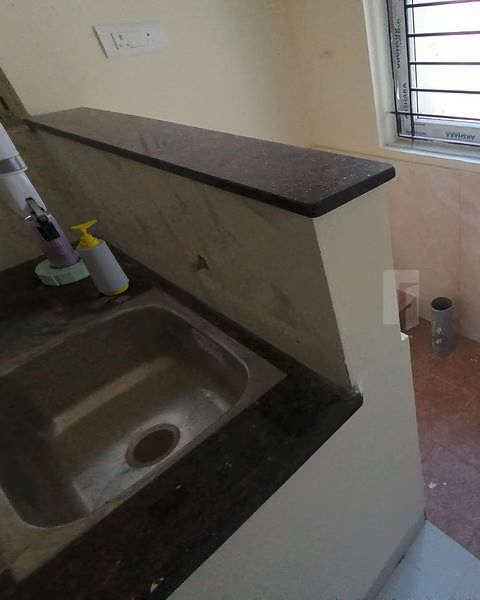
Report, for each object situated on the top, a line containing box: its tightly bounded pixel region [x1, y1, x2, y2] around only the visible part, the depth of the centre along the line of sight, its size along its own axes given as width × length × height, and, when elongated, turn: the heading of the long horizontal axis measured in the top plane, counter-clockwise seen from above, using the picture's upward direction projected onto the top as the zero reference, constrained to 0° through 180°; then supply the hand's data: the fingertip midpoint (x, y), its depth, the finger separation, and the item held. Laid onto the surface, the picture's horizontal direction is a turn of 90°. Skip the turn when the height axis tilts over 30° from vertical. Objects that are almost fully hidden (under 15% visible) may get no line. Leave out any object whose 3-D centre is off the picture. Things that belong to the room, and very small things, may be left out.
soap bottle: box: [70, 219, 130, 296], centre depth 93 cm, size 7×7×18 cm
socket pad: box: [34, 249, 90, 287], centre depth 105 cm, size 13×13×3 cm
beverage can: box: [22, 211, 80, 269], centre depth 101 cm, size 6×6×15 cm
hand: (48, 235), depth 99 cm, fingers closed on beverage can, 6 cm apart
